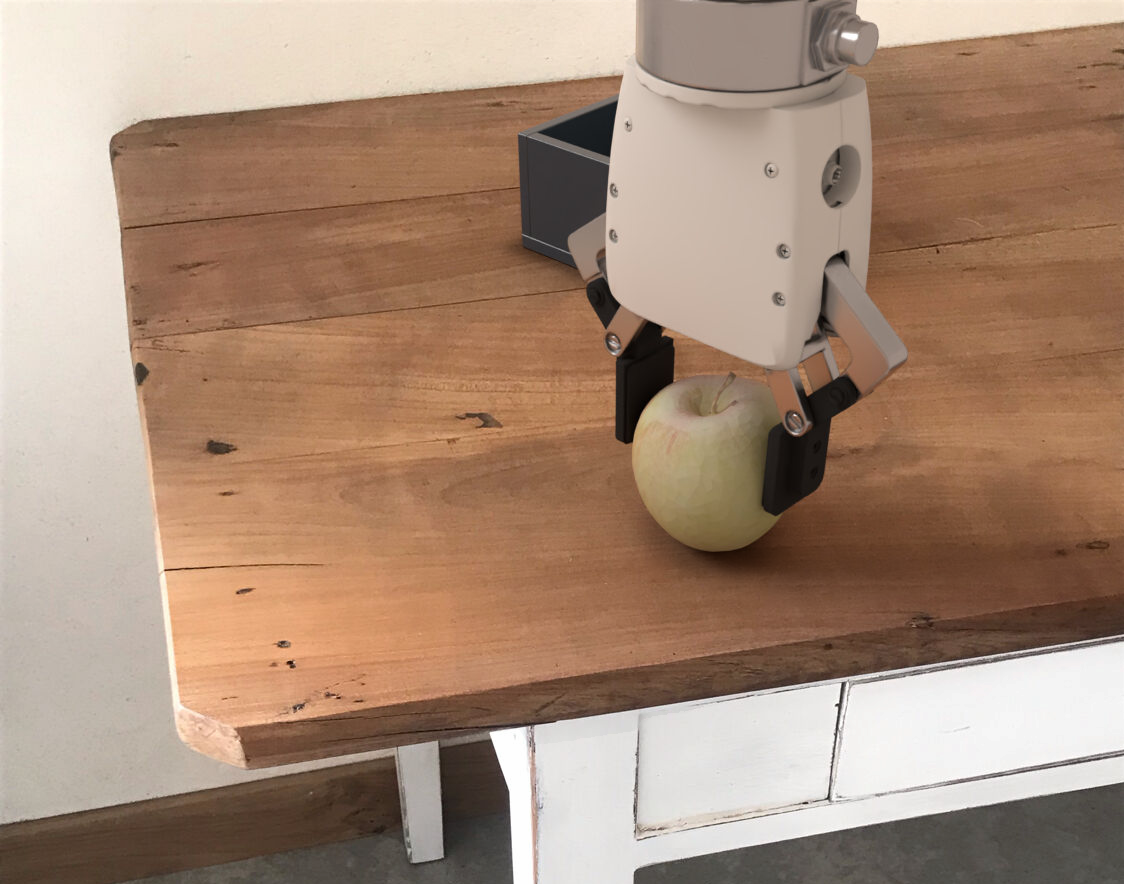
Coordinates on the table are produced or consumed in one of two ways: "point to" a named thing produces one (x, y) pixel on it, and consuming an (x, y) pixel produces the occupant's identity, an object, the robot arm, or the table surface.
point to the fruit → (706, 460)
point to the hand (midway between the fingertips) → (714, 462)
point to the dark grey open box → (564, 176)
